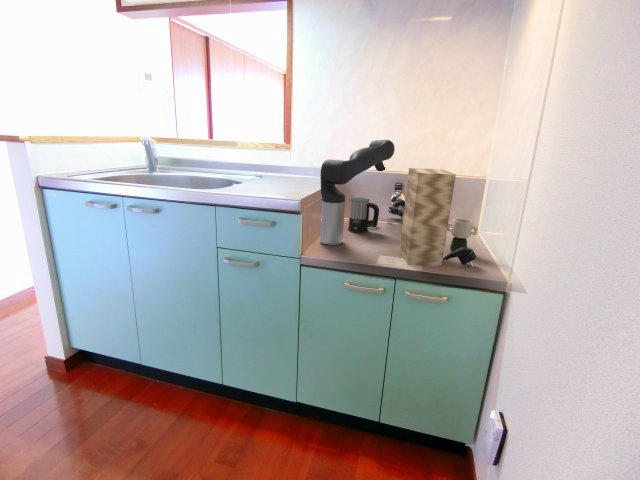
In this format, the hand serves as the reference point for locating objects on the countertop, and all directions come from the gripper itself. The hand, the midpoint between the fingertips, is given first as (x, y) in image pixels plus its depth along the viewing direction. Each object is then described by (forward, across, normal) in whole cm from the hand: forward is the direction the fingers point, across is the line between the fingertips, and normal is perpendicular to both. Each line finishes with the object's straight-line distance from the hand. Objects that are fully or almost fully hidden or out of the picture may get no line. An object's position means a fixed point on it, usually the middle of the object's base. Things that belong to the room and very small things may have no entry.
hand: (406, 214), depth 153 cm
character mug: (+20, +17, +10) cm, 28 cm away
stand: (+29, 0, +10) cm, 30 cm away
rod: (+5, 0, +5) cm, 7 cm away
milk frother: (-8, -18, +10) cm, 22 cm away
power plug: (+34, +12, +10) cm, 37 cm away
